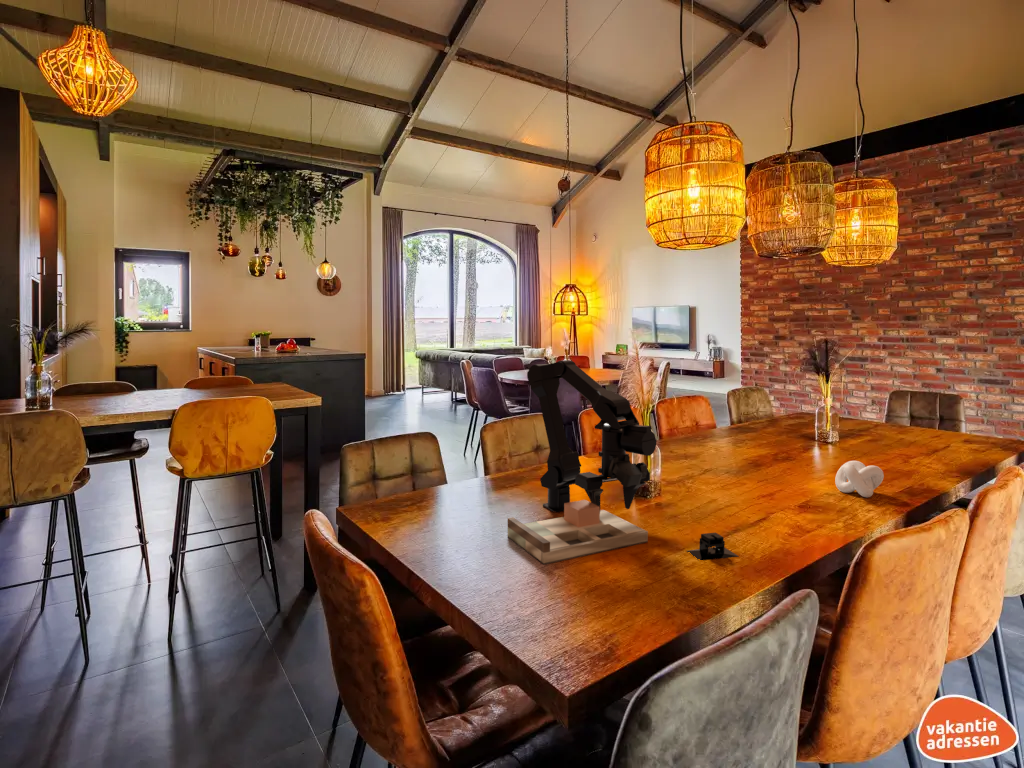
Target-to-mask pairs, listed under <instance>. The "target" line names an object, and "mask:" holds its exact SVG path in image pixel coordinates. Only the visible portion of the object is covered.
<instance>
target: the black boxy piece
mask: <svg viewBox="0 0 1024 768" xmlns="http://www.w3.org/2000/svg"><path fill="white" fill-rule="evenodd" d="M725 543H726V542H725V540H724V537H723V535H720V534H719V533H717V532H708V533H701V534H700V538H699V549H691V550H686V552H687V553H688V552H690V553H691V554H692V555H693V556H692V555H691V554H690V553H689V554H690V555H691V556H692V557H694V556H695V557H696V558H697V559H696V558H695V557H694V558H695V559H696V560H698V559H700V560H703V561H711V560H719V559H720V560H721V559H729V558H739V557H740V556H739V555H737V554H736V553H734V552H733V551H732V550H729V549H728V548H726V547H725Z"/></svg>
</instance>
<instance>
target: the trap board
mask: <svg viewBox="0 0 1024 768" xmlns="http://www.w3.org/2000/svg"><path fill="white" fill-rule="evenodd" d="M648 536H649V531H648V530H646V529H644V528H642V527H639V526H638V525H636V524H633V523H631V522H629V521H627V520H626V519H623V518H621V517H620V516H617V515H616V514H614V513H611V512H609V511H607V510H605V509H600V521H599V523H598V524H593V525H588V526H582V527H577V526H575V525H573V524H571V523H570V522H568V521H566V520H564V516H561V517H555V518H548V519H544V520H537V521H532V522H527V523H523V522H522V521H520V520H518V519H517V518H515V517H514V516H511V517H507V538H508V539H509V540H510V541H512V542H514V543H515V544H516V545H517V546H519V547H520V548H522V550H524V551H526V553H528V554H529V555H530V556H532V557H533V558H534V559H536V561H538V562H540V563H541V564H542V565H544V566H545V565H549V564H553V563H557V562H562V561H567V560H572V559H577V558H581V557H585V556H591V555H595V554H600V553H604V552H609V551H613V550H619V549H622V548H628V547H632V546H636V545H641V544H645V543H648V541H649V538H648Z"/></svg>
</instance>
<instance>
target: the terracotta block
mask: <svg viewBox="0 0 1024 768" xmlns="http://www.w3.org/2000/svg"><path fill="white" fill-rule="evenodd" d="M600 510H601V506H600V507H599V506H597V505H595V504H593V503H591V501H588V500H586V499H581V500H575V501H570V502H569V503H564V511H563V514H564V515H563V517H564V520H566V521H568V522H570V523H571V524H573V525H575V526H577V527H582V526H588V525H593V524H598V523H599V521H600Z"/></svg>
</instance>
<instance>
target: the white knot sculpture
mask: <svg viewBox="0 0 1024 768" xmlns="http://www.w3.org/2000/svg"><path fill="white" fill-rule="evenodd" d="M884 477H885V475H884V471H883V470H882V468H880V467H879V466H877V465H867V466H866V465H865V464H864V463H863V462H861V461H859V460H849V461H846V462H845V463H843V464H841V466H840V468H839V469H838V470H837V472H836V474H835V479H834V480H835V481H834V483H835V486H836V488H837V489H838V490H839V491H840V492H842V493H844V494H848V493H853V492H855V491H856V492H857V493H858V495H860V496H861V497H863V498H871V497H872V496H873V494H874V490H875V489H877V488H878V487H879V486H880V485H881V484H882V482H883V480H884Z"/></svg>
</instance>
